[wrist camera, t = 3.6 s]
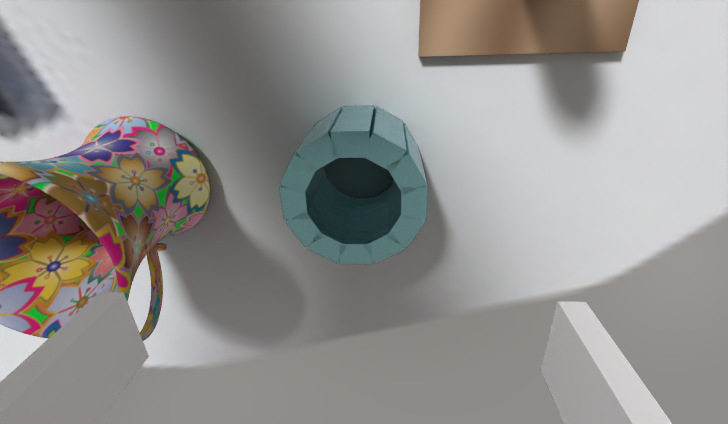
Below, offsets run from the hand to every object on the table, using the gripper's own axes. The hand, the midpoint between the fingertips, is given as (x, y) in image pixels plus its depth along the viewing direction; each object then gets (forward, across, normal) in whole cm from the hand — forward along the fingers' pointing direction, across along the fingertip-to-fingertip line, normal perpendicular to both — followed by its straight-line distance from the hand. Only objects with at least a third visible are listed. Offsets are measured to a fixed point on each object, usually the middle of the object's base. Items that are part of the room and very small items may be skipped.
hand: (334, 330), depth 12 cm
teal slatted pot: (+14, 0, 0) cm, 15 cm away
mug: (+15, -14, -2) cm, 21 cm away
